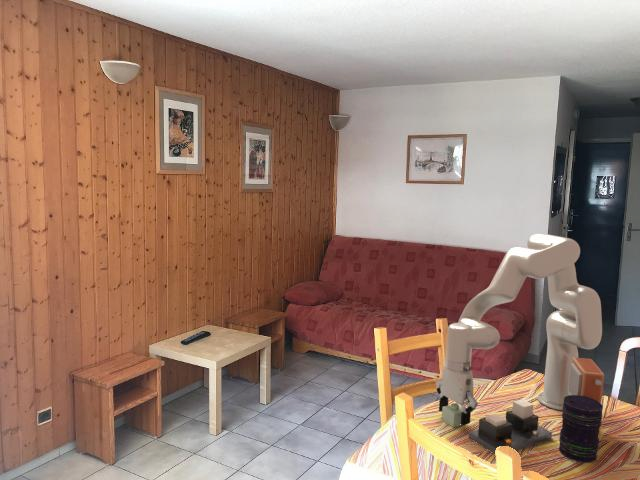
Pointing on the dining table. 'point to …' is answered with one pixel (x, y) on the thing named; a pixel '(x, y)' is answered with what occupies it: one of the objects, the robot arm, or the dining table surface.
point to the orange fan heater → (585, 379)
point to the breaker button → (522, 409)
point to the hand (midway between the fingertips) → (454, 417)
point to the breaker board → (510, 433)
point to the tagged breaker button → (495, 420)
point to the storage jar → (580, 428)
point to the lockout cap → (452, 414)
